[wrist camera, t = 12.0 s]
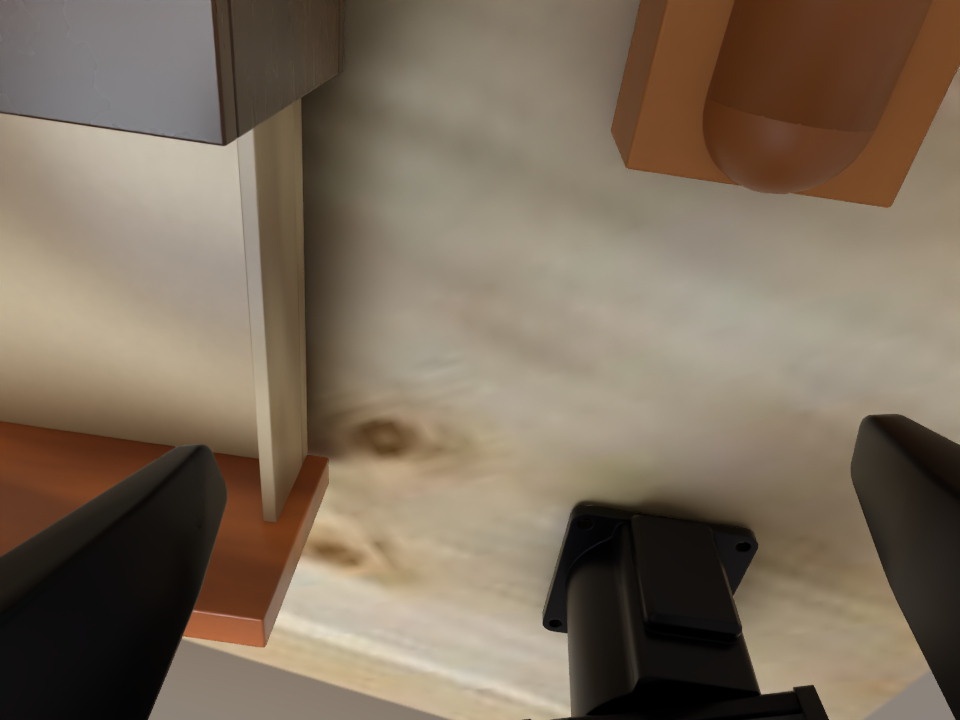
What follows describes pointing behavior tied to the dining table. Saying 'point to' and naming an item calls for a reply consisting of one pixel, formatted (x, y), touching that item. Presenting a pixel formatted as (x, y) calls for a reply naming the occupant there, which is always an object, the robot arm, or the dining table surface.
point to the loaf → (786, 92)
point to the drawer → (159, 339)
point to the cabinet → (166, 62)
